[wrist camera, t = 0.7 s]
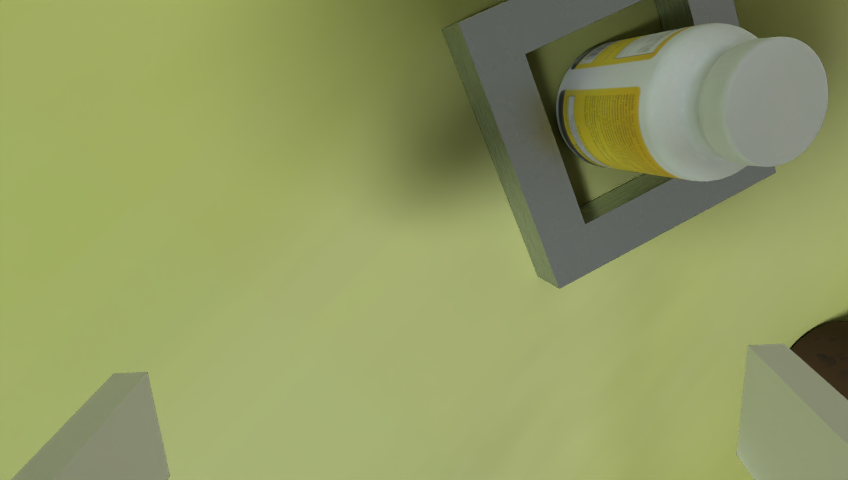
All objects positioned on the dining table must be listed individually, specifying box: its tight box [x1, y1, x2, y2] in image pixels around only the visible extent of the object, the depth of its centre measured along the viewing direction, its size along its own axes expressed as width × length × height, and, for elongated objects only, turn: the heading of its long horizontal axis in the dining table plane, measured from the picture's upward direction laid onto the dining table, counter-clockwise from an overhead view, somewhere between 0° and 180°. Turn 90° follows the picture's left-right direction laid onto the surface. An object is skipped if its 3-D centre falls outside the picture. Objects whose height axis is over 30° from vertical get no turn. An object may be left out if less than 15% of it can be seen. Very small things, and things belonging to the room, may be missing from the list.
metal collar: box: [442, 0, 776, 289], centre depth 33 cm, size 14×14×2 cm
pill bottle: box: [556, 23, 828, 181], centre depth 28 cm, size 6×6×12 cm
